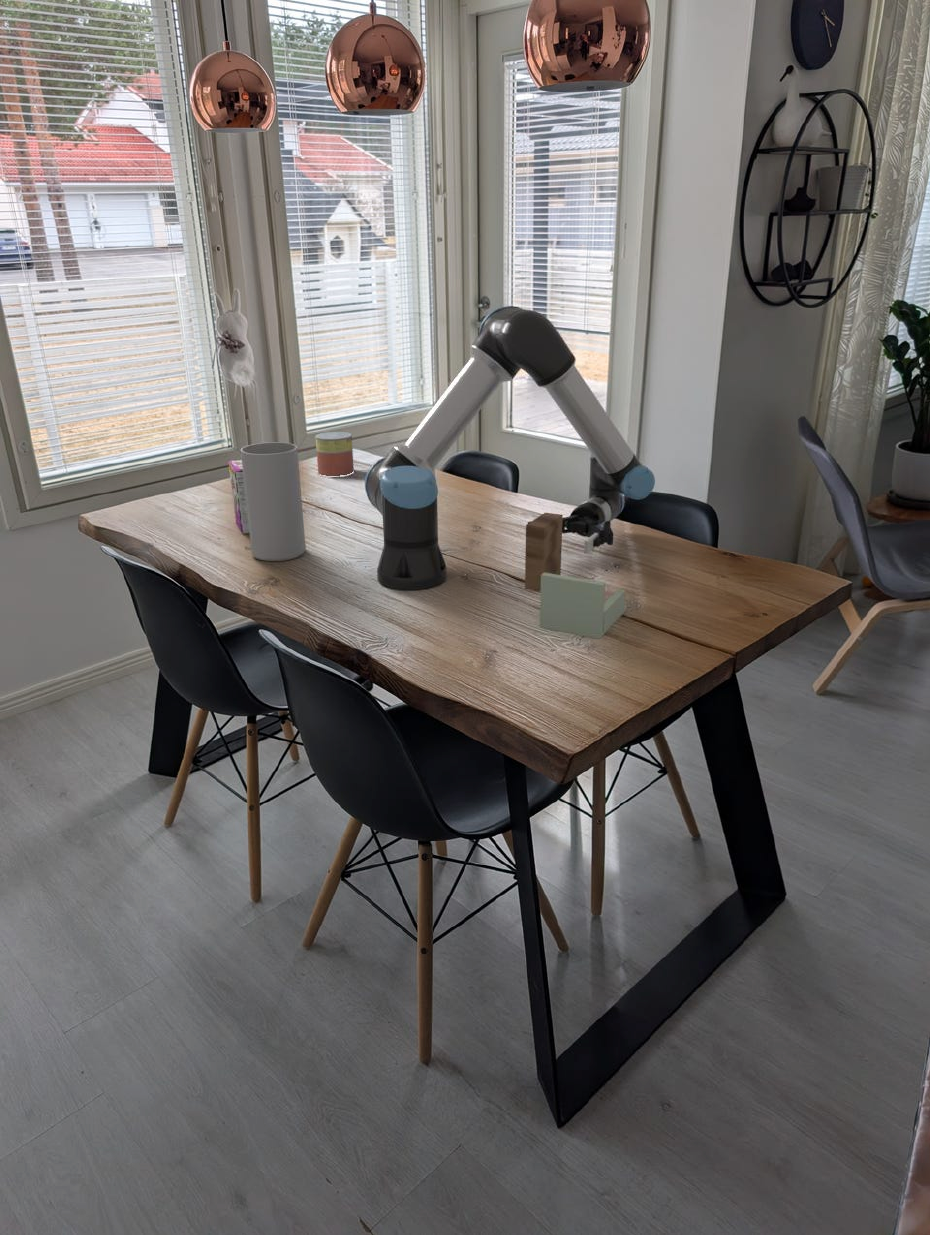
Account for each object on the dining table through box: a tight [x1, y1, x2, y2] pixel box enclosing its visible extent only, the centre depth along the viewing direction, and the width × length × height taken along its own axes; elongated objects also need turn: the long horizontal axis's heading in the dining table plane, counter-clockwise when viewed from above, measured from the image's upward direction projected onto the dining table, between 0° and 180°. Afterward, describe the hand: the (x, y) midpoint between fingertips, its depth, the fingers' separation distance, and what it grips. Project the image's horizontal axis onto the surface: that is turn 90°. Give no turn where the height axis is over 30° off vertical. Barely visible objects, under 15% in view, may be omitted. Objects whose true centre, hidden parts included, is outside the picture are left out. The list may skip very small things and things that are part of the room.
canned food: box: [314, 431, 355, 476], centre depth 282 cm, size 11×11×12 cm
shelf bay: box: [539, 573, 628, 640], centre depth 174 cm, size 16×12×11 cm
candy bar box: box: [228, 459, 250, 535], centre depth 229 cm, size 11×5×16 cm, turn 22°
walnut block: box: [524, 512, 564, 592], centre depth 191 cm, size 10×4×14 cm, turn 152°
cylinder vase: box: [240, 441, 307, 562], centre depth 209 cm, size 12×12×25 cm
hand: (556, 543), depth 195 cm, fingers open, 13 cm apart
